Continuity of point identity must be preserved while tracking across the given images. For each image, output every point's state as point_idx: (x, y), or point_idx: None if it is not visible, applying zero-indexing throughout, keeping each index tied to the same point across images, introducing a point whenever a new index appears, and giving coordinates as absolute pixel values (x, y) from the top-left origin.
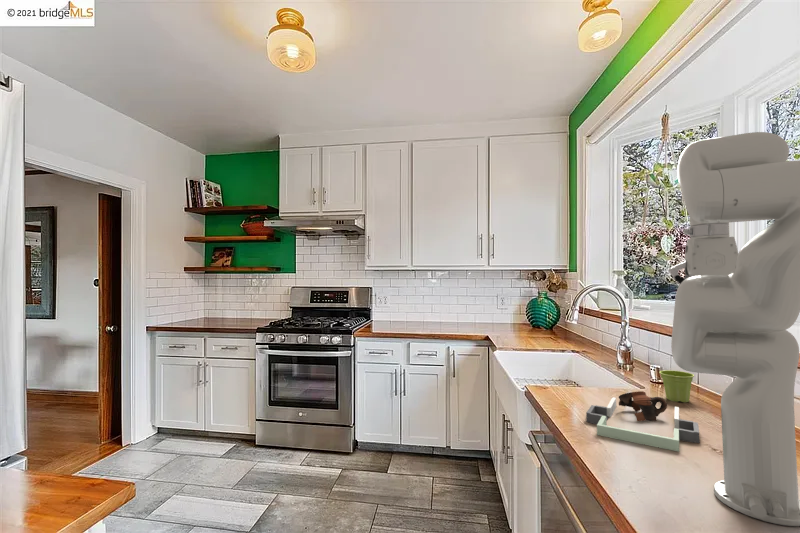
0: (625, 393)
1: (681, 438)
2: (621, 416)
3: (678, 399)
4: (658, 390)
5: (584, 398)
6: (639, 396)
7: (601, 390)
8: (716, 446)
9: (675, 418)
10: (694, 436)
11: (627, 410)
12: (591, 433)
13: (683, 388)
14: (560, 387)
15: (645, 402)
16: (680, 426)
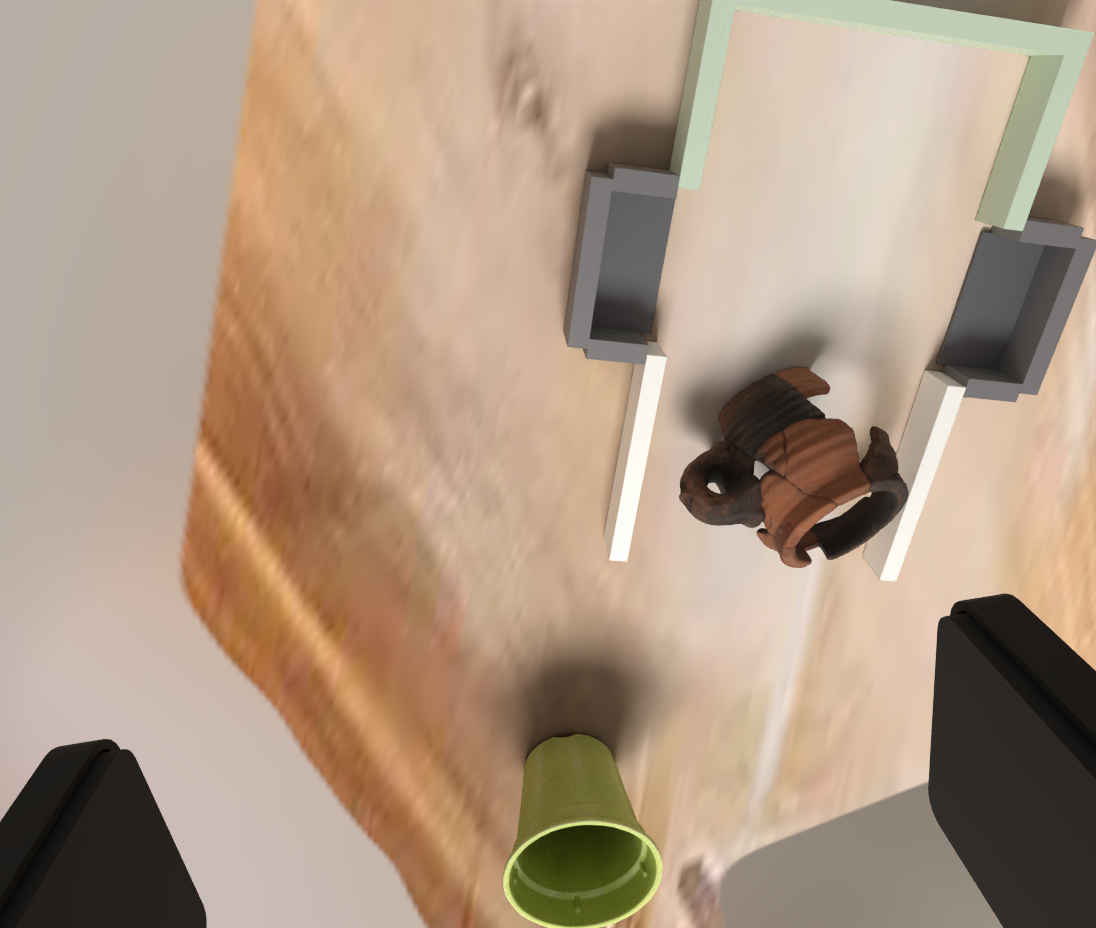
0: (892, 488)
1: (661, 170)
2: (870, 405)
3: (573, 741)
4: None
5: None
6: (827, 468)
7: (884, 761)
8: (520, 162)
9: (660, 363)
10: (609, 176)
11: None
12: None
13: (556, 784)
14: None
15: (794, 439)
16: (638, 334)
